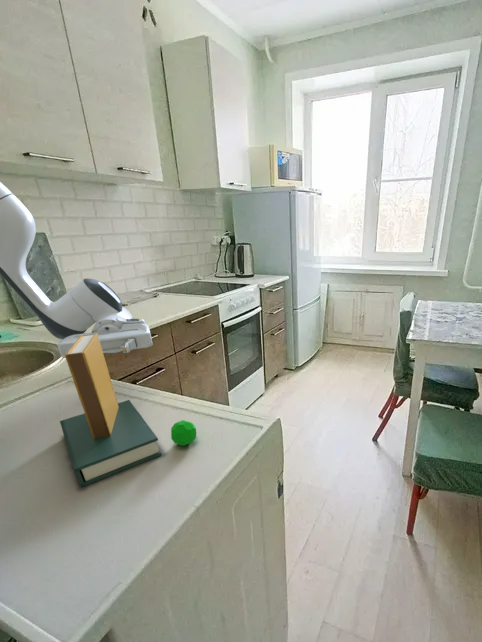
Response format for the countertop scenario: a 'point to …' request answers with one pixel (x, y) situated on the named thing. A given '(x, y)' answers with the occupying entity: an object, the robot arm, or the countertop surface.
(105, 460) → the hardcover
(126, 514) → the countertop surface
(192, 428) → the polyhedron
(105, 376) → the paperback
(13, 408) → the countertop surface
